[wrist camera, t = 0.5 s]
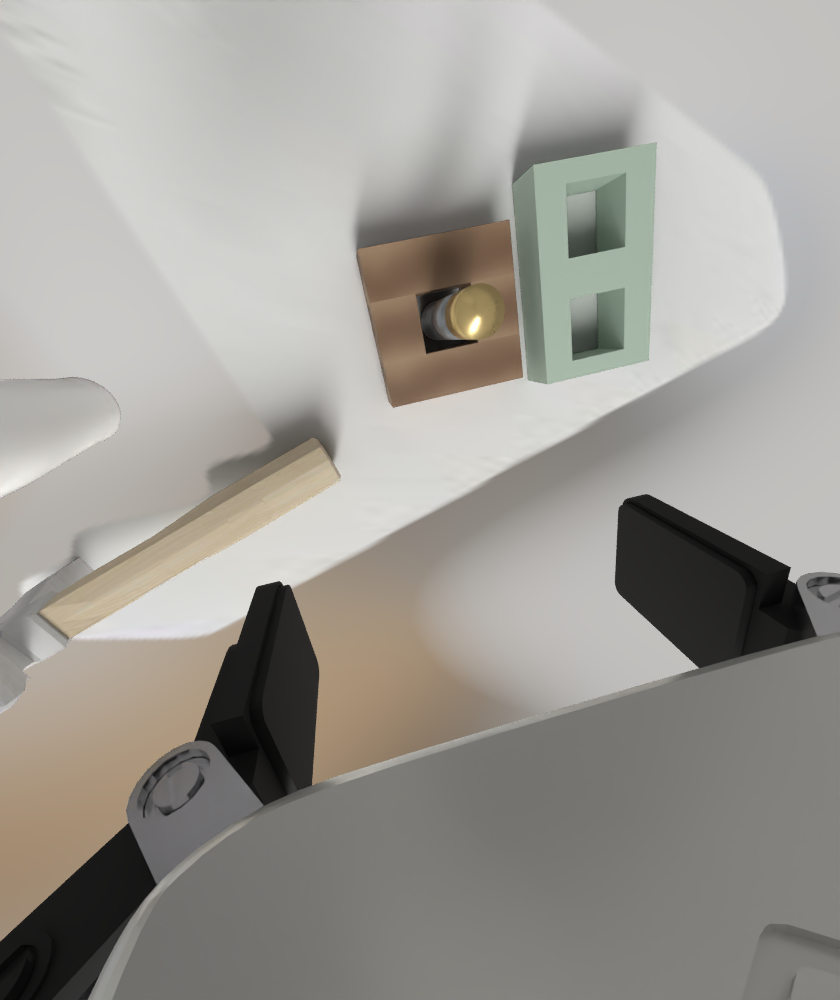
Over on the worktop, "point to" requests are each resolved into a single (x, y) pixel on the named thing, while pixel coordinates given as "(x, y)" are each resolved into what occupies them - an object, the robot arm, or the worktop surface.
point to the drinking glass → (49, 425)
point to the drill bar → (465, 314)
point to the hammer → (152, 561)
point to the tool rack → (586, 260)
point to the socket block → (429, 269)
